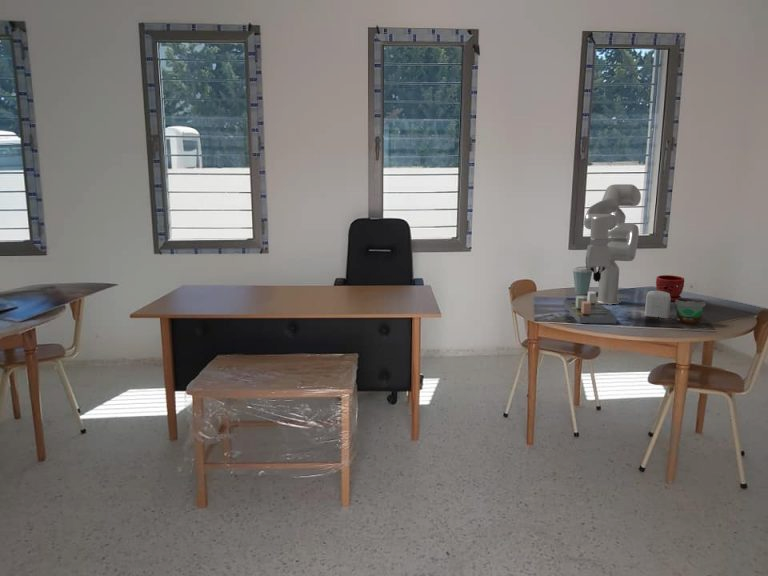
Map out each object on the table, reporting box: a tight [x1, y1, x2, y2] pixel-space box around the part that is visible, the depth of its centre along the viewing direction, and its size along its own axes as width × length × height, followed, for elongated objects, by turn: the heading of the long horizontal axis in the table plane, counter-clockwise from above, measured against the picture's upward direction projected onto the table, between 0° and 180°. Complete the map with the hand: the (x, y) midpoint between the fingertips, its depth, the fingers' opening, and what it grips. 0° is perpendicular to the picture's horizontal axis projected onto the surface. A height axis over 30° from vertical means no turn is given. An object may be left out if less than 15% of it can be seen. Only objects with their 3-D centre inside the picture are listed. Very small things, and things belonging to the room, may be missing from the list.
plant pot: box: [655, 274, 685, 302], centre depth 298 cm, size 13×13×12 cm
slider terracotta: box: [581, 300, 591, 314], centre depth 261 cm, size 3×4×5 cm, turn 174°
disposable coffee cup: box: [572, 265, 593, 296], centre depth 317 cm, size 11×11×15 cm
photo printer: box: [644, 290, 672, 319], centre depth 264 cm, size 10×4×12 cm, turn 56°
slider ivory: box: [586, 291, 597, 303], centre depth 282 cm, size 3×4×5 cm, turn 174°
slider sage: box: [575, 295, 586, 309], centre depth 272 cm, size 3×4×5 cm, turn 174°
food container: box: [674, 299, 707, 325], centre depth 253 cm, size 12×6×10 cm, turn 70°
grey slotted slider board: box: [563, 299, 617, 325], centre depth 272 cm, size 16×34×3 cm, turn 174°
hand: (596, 280), depth 269 cm, fingers closed
